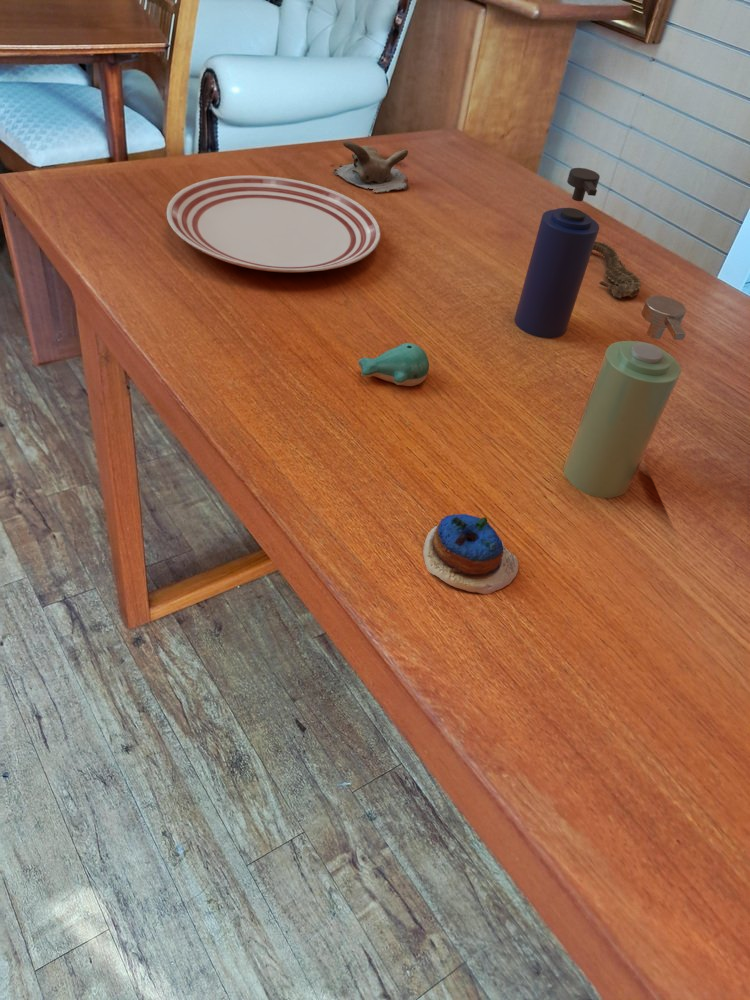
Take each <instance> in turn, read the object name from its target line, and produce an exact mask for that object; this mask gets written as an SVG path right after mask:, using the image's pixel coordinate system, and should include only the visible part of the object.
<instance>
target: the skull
mask: <svg viewBox="0 0 750 1000" xmlns="http://www.w3.org/2000/svg"><path fill="white" fill-rule="evenodd" d="M342 145H343V146H344V147H345V148H346V149H348V150H350V151H351V152H353V153H352V154H351V157H352V159H353V163H348V164H346V165H342V163H340V164H339V165H338V167H337V168H334V170H333V174H334V175H335V176H339V177H341V178H342V179H343V180H344V181H346V182H348V183H350V184H353V185H355V186H358V187H360V188H363V189H365V190H366V189H368V188H369V189H373V190H372V193H375V192H376V193H375V194H379V193H382V192H384V193H385V192H387V193H388V192H390V191H391V190H396V191H398V190H400V191H401V190H402V189H403V190H408V189H409V188H410V187H409V185H408V184H407V182H409V179H408V176H406V175H405V174H403V173H402V172H401V171H400V170H399V169H397V168H396V167H394V166H395V165H397V164H399V162H402V161H403V160H405V158H406V157H408V154H409V150H408V149H401V150H399V151H396V152H395V153H392V155H390V156H388V158H387V159H384V158H383V157H382V156H381V155H380V154H379V153H378V149H376V148H375V147H373V146H372V145H370V146H369V145H368V144H366V145H362V146H361V145H359V144H357V143H355V142H352V141H344V142H342ZM405 181H406V182H405ZM369 189H368V190H369ZM376 189H378V190H376ZM374 190H376V191H374ZM379 190H380V191H379Z"/></svg>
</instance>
